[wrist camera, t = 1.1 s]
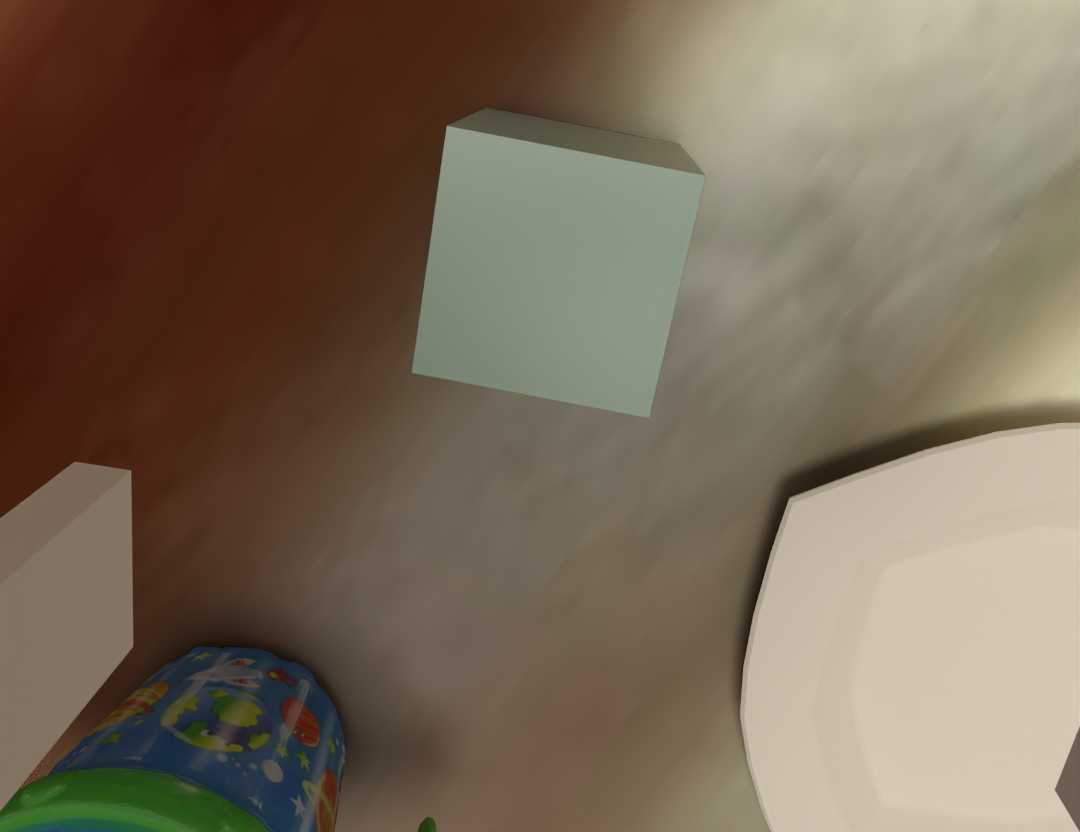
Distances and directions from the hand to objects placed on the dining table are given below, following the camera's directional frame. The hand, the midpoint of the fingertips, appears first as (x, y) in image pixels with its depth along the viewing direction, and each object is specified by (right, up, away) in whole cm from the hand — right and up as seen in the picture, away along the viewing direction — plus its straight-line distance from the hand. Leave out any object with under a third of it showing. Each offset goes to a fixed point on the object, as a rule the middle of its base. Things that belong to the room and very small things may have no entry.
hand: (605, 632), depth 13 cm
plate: (+15, -6, +21) cm, 27 cm away
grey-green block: (0, +9, +16) cm, 18 cm away
